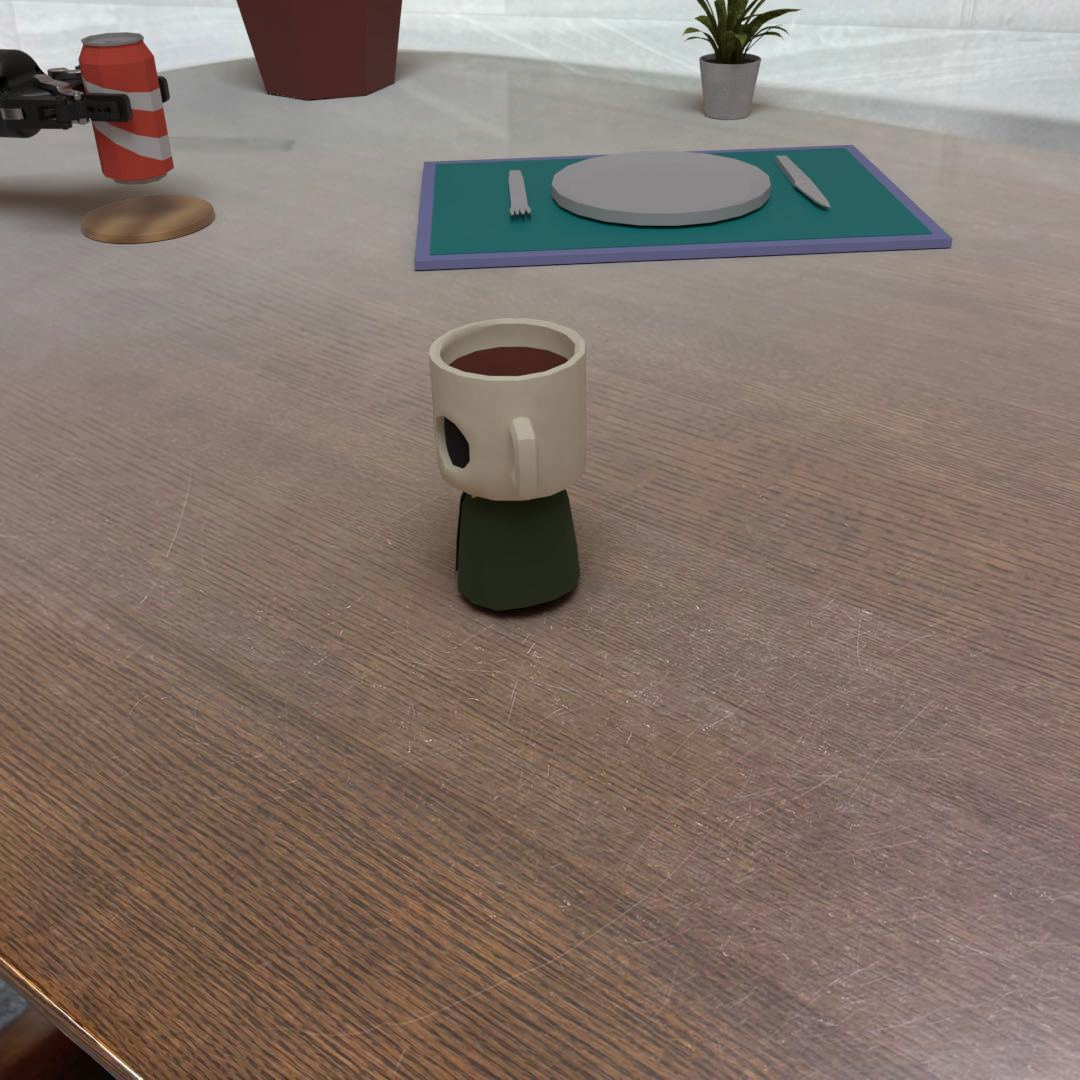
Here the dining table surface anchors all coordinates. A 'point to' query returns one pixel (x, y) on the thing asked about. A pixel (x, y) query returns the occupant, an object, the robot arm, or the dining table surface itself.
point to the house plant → (731, 56)
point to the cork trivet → (147, 219)
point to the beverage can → (144, 139)
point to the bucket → (323, 45)
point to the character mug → (511, 454)
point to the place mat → (663, 208)
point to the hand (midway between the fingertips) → (147, 98)
